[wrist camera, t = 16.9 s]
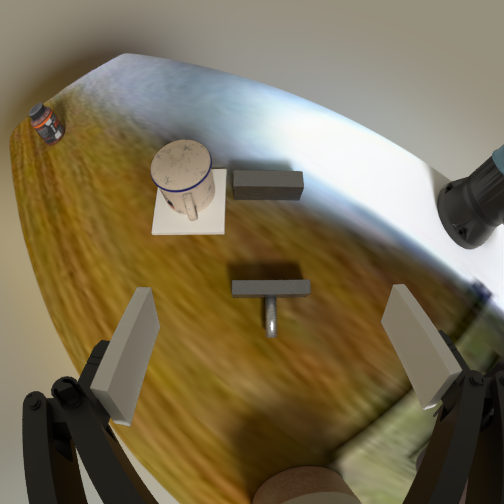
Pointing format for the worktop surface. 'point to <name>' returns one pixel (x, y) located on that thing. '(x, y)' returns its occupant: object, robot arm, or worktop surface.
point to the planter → (305, 488)
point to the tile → (208, 218)
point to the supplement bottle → (46, 124)
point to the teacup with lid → (184, 176)
